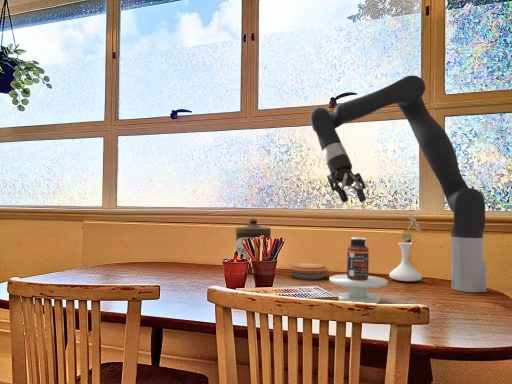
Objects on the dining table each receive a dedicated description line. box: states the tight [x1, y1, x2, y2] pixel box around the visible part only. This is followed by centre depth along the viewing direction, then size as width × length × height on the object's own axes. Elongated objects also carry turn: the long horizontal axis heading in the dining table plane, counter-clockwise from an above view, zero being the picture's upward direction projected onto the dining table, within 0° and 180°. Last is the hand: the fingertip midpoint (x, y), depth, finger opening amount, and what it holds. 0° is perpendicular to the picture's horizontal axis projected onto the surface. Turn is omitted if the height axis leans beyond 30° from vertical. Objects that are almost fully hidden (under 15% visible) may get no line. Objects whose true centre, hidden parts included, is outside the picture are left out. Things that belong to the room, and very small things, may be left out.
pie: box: [287, 262, 330, 280], centre depth 149 cm, size 15×16×5 cm
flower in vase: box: [388, 212, 423, 283], centre depth 144 cm, size 13×11×25 cm
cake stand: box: [328, 273, 389, 304], centre depth 110 cm, size 16×16×6 cm
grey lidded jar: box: [235, 217, 272, 275], centre depth 161 cm, size 15×15×22 cm
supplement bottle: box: [346, 238, 370, 280], centre depth 111 cm, size 6×6×11 cm
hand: (354, 201), depth 126 cm, fingers open, 8 cm apart
